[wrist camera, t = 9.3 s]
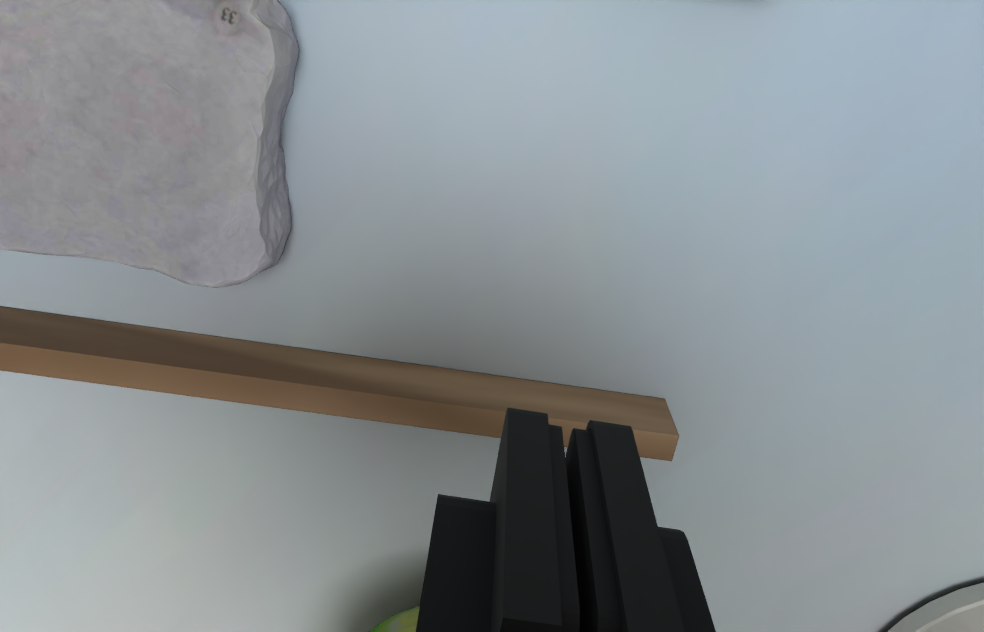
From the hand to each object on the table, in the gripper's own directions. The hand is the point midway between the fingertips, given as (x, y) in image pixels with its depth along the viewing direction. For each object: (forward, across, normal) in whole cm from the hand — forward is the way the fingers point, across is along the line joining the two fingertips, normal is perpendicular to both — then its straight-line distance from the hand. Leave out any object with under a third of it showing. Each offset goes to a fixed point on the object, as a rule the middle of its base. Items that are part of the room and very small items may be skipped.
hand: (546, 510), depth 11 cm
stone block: (+17, +13, -2) cm, 22 cm away
